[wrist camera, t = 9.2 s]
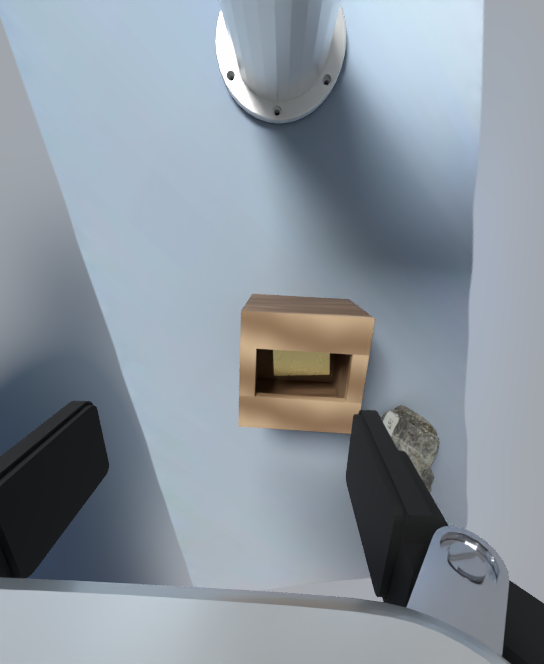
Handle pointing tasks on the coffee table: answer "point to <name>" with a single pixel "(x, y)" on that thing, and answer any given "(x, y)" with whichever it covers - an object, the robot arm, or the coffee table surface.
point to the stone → (413, 439)
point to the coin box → (308, 336)
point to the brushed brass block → (300, 363)
